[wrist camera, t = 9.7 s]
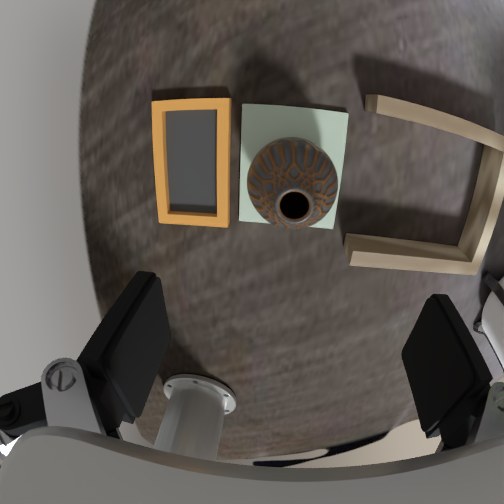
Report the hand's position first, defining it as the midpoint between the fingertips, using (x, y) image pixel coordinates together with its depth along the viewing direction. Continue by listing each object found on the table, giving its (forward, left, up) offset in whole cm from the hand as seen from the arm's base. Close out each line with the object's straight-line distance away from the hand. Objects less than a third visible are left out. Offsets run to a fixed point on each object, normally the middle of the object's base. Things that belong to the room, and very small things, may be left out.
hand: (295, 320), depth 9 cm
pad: (+1, 0, -19) cm, 18 cm away
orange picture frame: (+1, +9, -18) cm, 21 cm away
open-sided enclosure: (+1, -13, -18) cm, 23 cm away
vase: (0, 0, -18) cm, 18 cm away
